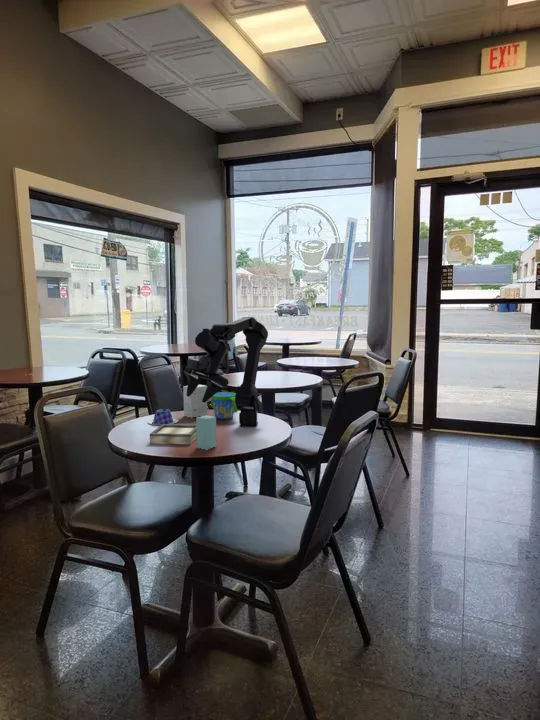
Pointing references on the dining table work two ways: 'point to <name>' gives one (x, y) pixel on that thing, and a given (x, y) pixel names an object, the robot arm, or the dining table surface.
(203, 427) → the teal block
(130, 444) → the dining table surface
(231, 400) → the snack cup
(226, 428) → the dining table surface
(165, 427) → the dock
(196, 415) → the small box
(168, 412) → the checkered hat
